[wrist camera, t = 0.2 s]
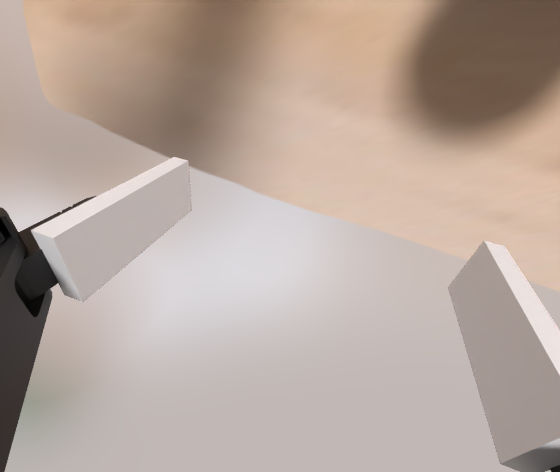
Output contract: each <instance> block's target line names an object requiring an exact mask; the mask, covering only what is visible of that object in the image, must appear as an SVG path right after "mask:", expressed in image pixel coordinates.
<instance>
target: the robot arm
mask: <svg viewBox="0 0 560 472" xmlns="http://www.w3.org/2000/svg"><path fill="white" fill-rule="evenodd" d="M191 210H192V209H191V194H190V177H189V163H188V160H184V159H180V158H177V157H173V158H171V159H169V160H167V161H165V162H163V163H161V164H159V165H157V166H155V167H153V168H151V169H149V170H147V171H145V172H143V173H141V174H139V175H137V176H135V177H134V178H132V179H130V180H128V181H126V182H124V183H122V184H120V185H118V186H116V187H114V188H112V189H110V190H108V191H106V192H104V193H102V194H100V195H98V196H95V197H90V198H87V199H84V200H82V201H80V202H78V203H76V204H74V205H73V207H68V208H66V209H65V210H63V211H62V212H58V213H57V214H54V215H52V216H50V217H48V218H47V219H44V220H43V221H40V222H38V223H36V224H34V225H33V226H30V227H28V228H26V229H25V230H23V231H20V232H18V231H17V229H16V227H15V226H14V224H13V222H12V220H11V219H10V217H9V215H8V213H7V212H6V211H5V210H4V209H3V208H0V472H4V471H5V467H6V463H7V460H8V456H9V453H10V449H11V445H12V442H13V438H14V434H15V431H16V427H17V424H18V420H19V416H20V412H21V409H22V405H23V401H24V398H25V394H26V391H27V387H28V384H29V380H30V376H31V372H32V369H33V365H34V362H35V358H36V355H37V351H38V347H39V344H40V340H41V336H42V333H43V329H44V325H45V322H46V318H47V314H48V311H49V307H50V304H51V300H52V292H51V290H50V288H52V287H53V286H54V285H56V284H57V283H59V285H60V287H61V289H62V291H63V293H64V295H66V296H69V297H71V298H74V299H76V300H79V301H82V302H84V301H85V300H86V299H87V298H88V297H90V296H91V295H92V294H93V293H94V292H96V291H97V290H98V289H99V288H100V287H101V286H103V285H104V284H105V283H106V282H107V281H109V280H110V279H111V278H112V277H113V276H115V275H116V274H117V273H118V272H119V271H120V270H122V269H123V268H124V267H125V266H126V265H128V264H129V263H130V262H131V261H132V260H133V259H135V258H136V257H137V256H138V255H139V254H140V253H142V252H143V251H144V250H145V249H146V248H147V247H149V246H150V245H151V244H152V243H153V242H155V241H156V240H157V239H158V238H159V237H161V236H162V235H163V234H164V233H165V232H166V231H168V230H169V229H170V228H171V227H172V226H174V225H175V224H176V223H177V222H178V221H179V220H181V219H182V218H183V217H184V216H185V215H187V214H188V213H189V212H190V211H191ZM448 289H449V293H450V296H451V300H452V303H453V306H454V310H455V313H456V316H457V319H458V323H459V326H460V330H461V333H462V336H463V340H464V343H465V347H466V350H467V353H468V357H469V360H470V364H471V367H472V370H473V374H474V377H475V381H476V384H477V387H478V391H479V394H480V398H481V401H482V404H483V407H484V411H485V415H486V418H487V421H488V424H489V428H490V431H491V435H492V438H493V441H494V445H495V448H496V452H497V455H498V458H499V462H500V464H502V465H505V466H507V467H510V468H512V469H515V470H518V471H520V472H545V471H548V470H551V472H560V330H559V329H558V327H557V326H556V324H555V323H554V321H553V320H552V318H551V317H550V315H549V313H548V312H547V310H546V309H545V307H544V306H543V304H542V303H541V301H540V300H539V298H538V297H537V295H536V294H535V292H534V290H533V289H532V287H531V286H530V284H529V283H528V281H527V280H526V278H525V277H524V275H523V274H522V272H521V270H520V269H519V267H518V266H517V264H516V263H515V261H514V260H513V258H512V257H511V255H510V254H509V252H508V250H507V249H506V247H505V246H502V245H498V244H494V243H491V242H487V241H483V243H482V244H481V245H480V246H479V248H478V249H477V250H476V252H475V253H474V254H473V256H472V257H471V258H470V259H469V261H468V262H467V263H466V265H465V266H464V267H463V269H462V270H461V271H460V273H459V274H458V275H457V276H456V278H455V279H454V280H453V281H452V283H451V284H450V285H449V287H448Z"/></svg>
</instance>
